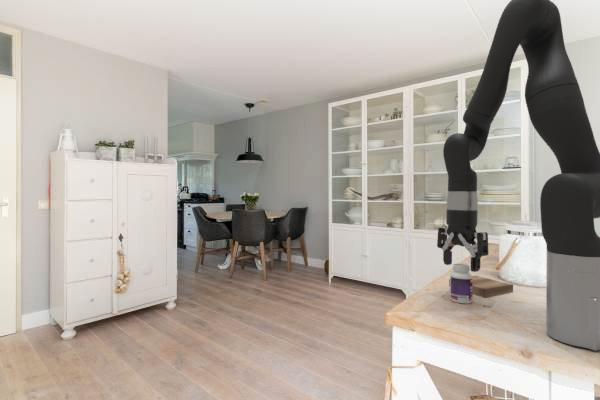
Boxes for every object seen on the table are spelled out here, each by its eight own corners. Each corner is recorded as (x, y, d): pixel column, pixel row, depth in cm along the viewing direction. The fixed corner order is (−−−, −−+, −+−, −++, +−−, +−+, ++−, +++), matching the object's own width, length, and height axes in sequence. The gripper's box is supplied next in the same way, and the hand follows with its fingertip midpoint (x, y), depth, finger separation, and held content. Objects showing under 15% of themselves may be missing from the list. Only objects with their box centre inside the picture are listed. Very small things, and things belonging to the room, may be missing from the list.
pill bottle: (475, 304, 82) (475, 267, 82) (453, 303, 83) (453, 266, 83) (468, 298, 88) (468, 263, 88) (447, 297, 89) (447, 262, 89)
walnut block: (513, 294, 92) (513, 284, 92) (484, 300, 88) (484, 289, 88) (475, 284, 103) (476, 275, 103) (449, 288, 99) (449, 279, 99)
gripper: (496, 209, 80) (494, 272, 81) (450, 207, 94) (449, 261, 94) (475, 209, 78) (474, 275, 78) (431, 207, 91) (430, 263, 91)
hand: (460, 267), depth 86 cm, fingers open, 8 cm apart
